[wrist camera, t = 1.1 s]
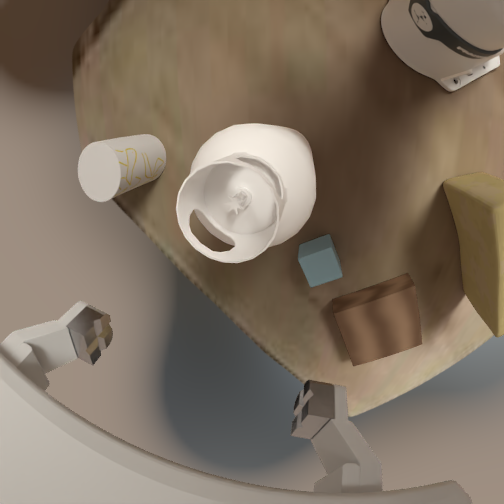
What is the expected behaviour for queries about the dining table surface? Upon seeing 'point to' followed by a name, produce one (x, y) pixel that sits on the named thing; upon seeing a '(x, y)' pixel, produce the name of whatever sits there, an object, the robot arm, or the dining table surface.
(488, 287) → the cheese
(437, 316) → the dining table surface
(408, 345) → the riser
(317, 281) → the cube
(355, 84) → the dining table surface
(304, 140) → the bottle
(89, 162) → the cup
